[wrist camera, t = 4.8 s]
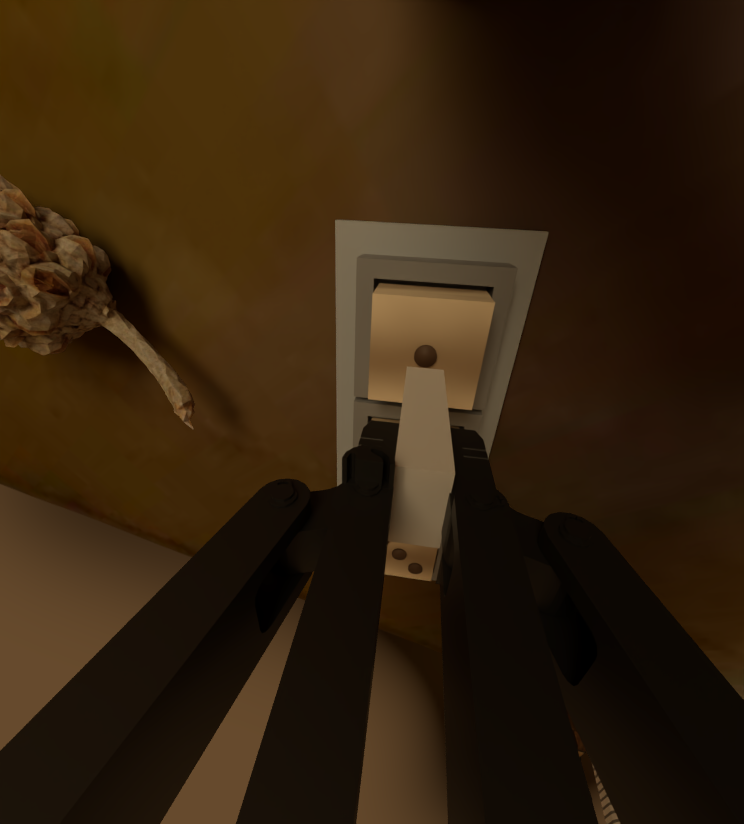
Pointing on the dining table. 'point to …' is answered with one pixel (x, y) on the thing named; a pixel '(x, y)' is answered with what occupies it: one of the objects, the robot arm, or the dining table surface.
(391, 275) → the button board
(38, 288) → the pine cone
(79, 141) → the dining table surface
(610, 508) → the dining table surface
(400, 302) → the tan square block
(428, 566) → the tile
